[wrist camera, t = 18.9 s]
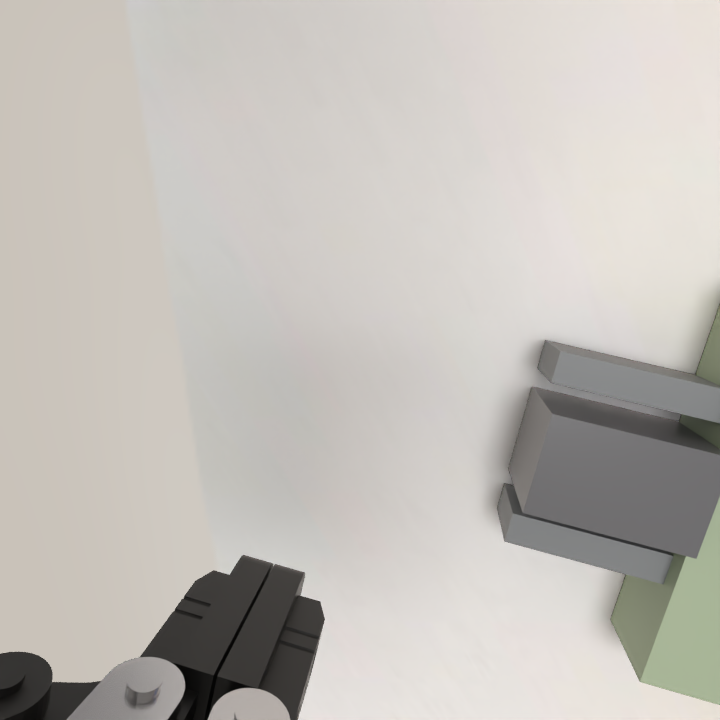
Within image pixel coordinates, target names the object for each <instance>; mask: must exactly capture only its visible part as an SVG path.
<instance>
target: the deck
mask: <svg viewBox="0 0 720 720" xmlns="http://www.w3.org/2000/svg"><path fill="white" fill-rule="evenodd" d="M538 369H539V370H540V371H541V372H542V373H543V375H544V376H545V377H546V378H547V379H548V380H549V381H550V382H551V383H553V384H558V385H562V386H566V387H570V388H574V389H579V390H583V391H587V392H591V393H595V394H599V395H604V396H608V397H612V398H616V399H620V400H625V401H629V402H633V403H637V404H641V405H645V406H650V407H654V408H658V409H662V410H666V411H671V412H675V413H679V414H682V415H681V418H680V421H679V422H680V423H681V424H683V425H684V426H686V427H687V428H689V429H690V430H692V431H693V432H695V433H696V434H698V435H700V436H701V437H703V438H704V439H706V440H707V441H709V442H710V443H712V444H713V445H715V446H716V447H718V448H719V449H720V305H719V308H718V311H717V314H716V317H715V320H714V323H713V326H712V328H711V331H710V334H709V337H708V340H707V343H706V346H705V349H704V352H703V354H702V357H701V360H700V363H699V366H698V369H697V372H696V375H694V374H690V373H685V372H681V371H677V370H672V369H668V368H664V367H659V366H655V365H651V364H646V363H642V362H638V361H633V360H629V359H625V358H620V357H616V356H612V355H607V354H603V353H599V352H594V351H590V350H586V349H582V348H577V347H573V346H569V345H564V344H560V343H556V342H551V341H547V340H545V344H544V347H543V351H542V354H541V358H540V361H539V365H538ZM497 510H498V514H499V519H500V523H501V528H502V532H503V537H504V541H505V542H508V543H512V544H516V545H519V546H523V547H527V548H530V549H534V550H538V551H542V552H545V553H549V554H553V555H556V556H560V557H564V558H567V559H571V560H575V561H578V562H582V563H586V564H590V565H593V566H597V567H601V568H604V569H608V570H612V571H615V572H619V573H623V574H626V576H625V579H624V582H623V585H622V588H621V591H620V594H619V597H618V599H617V602H616V605H615V608H614V611H613V614H612V617H611V622H612V624H613V626H614V628H615V630H616V632H617V634H618V636H619V639H620V641H621V643H622V645H623V647H624V649H625V651H626V653H627V656H628V658H629V660H630V662H631V664H632V666H633V668H634V670H635V672H636V675H637V677H638V679H639V681H640V682H642V683H646V684H649V685H653V686H656V687H659V688H663V689H666V690H670V691H673V692H677V693H680V694H684V695H687V696H691V697H694V698H697V699H701V700H704V701H708V702H711V703H715V704H718V705H720V497H719V500H718V502H717V505H716V508H715V511H714V513H713V516H712V519H711V521H710V524H709V527H708V529H707V532H706V535H705V537H704V540H703V543H702V545H701V548H700V551H699V553H698V556H697V559H695V558H691V557H687V556H683V555H680V554H676V553H672V552H668V551H664V550H661V549H657V548H653V547H649V546H646V545H642V544H638V543H634V542H630V541H627V540H623V539H619V538H615V537H612V536H608V535H604V534H600V533H596V532H593V531H589V530H585V529H581V528H578V527H574V526H570V525H566V524H562V523H559V522H555V521H551V520H547V519H544V518H540V517H536V516H532V515H528V514H525V513H523V512H522V509H521V506H520V503H519V500H518V497H517V494H516V491H515V488H514V486H513V485H509V484H505V483H504V486H503V490H502V493H501V497H500V500H499V504H498V507H497Z"/></svg>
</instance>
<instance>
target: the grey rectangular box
mask: <svg viewBox="0 0 720 720" xmlns="http://www.w3.org/2000/svg"><path fill="white" fill-rule="evenodd" d="M508 469H509V472H510V475H511V478H512V481H513V484H514V488H515V491H516V494H517V497H518V500H519V503H520V506H521V509H522V512H523V513H525V514H528V515H532V516H536V517H540V518H544V519H547V520H551V521H555V522H559V523H562V524H566V525H570V526H574V527H578V528H581V529H585V530H589V531H593V532H596V533H600V534H604V535H608V536H612V537H615V538H619V539H623V540H627V541H630V542H634V543H638V544H642V545H646V546H649V547H653V548H657V549H661V550H664V551H668V552H672V553H676V554H680V555H683V556H687V557H691V558H695V559H697V556H698V553H699V551H700V548H701V545H702V543H703V540H704V537H705V535H706V532H707V529H708V527H709V524H710V521H711V519H712V516H713V513H714V511H715V508H716V505H717V502H718V500H719V497H720V449H719V448H718V447H716V446H715V445H713V444H712V443H710V442H709V441H707V440H706V439H704V438H703V437H701V436H700V435H698V434H696V433H695V432H693V431H692V430H690V429H689V428H687V427H686V426H684V425H683V424H681V423H680V422H678V421H674V420H670V419H666V418H662V417H657V416H653V415H649V414H645V413H641V412H637V411H633V410H628V409H624V408H620V407H616V406H612V405H608V404H603V403H599V402H595V401H591V400H587V399H583V398H579V397H574V396H570V395H566V394H562V393H558V392H554V391H549V390H545V389H541V388H537V387H533V386H532V388H531V391H530V395H529V398H528V402H527V405H526V409H525V412H524V416H523V419H522V423H521V426H520V430H519V433H518V437H517V440H516V444H515V447H514V450H513V454H512V457H511V461H510V464H509V468H508Z"/></svg>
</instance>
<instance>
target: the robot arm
mask: <svg viewBox="0 0 720 720" xmlns="http://www.w3.org/2000/svg"><path fill="white" fill-rule="evenodd" d="M304 578H305V573H304V572H301V571H297V570H294V569H290V568H287V567H283V566H280V565H277V564H275V565H274V566H273V563H269V562H266V561H262V560H259V559H255V558H252V557H249V556H245V555H243V556H242V557H241V558H240V560H239V561H238V563H237V564H236V566H235V567H234V569H233V571H232V572H231V574H230V575H227V574H224V573H221V572H217V571H212V572H210V573H209V574H207V575H205V576H203V577H202V578H200V579H198V580H197V581H195V583H194V584H193V585H192V587H191V588H190V589H189V591H188V592H187V593H186V595H185V596H184V599H182V600H181V602H180V603H179V604H178V606H177V607H176V609H175V611H174V612H173V613H172V614H171V615H170V617H169V618H168V620H167V621H166V622H165V624H164V625H163V626H162V628H161V629H160V630H159V632H158V633H157V634H156V636H155V637H154V639H153V640H152V641H151V643H150V644H149V645H148V647H147V648H146V650H145V651H144V652H143V654H142V655H141V656H140V657H139V658H134V659H131V660H128V661H125V662H123V663H121V664H119V665H118V666H116V667H115V668H114V669H112V670H111V671H110V672H109V673H108V674H107V675H106V676H105V678H104V679H103V680H102V681H99V682H92V683H66V682H65V683H63V682H52V670H51V667H50V665H49V664H48V662H46V661H45V660H44V659H43V658H41V657H40V656H38V655H35V654H32V653H26V652H8V653H2V654H0V720H298V717H299V713H300V710H301V707H302V703H303V700H304V696H305V693H306V689H307V686H308V683H309V679H310V676H311V672H312V668H313V664H314V660H315V656H316V652H317V648H318V644H319V640H320V636H321V632H322V628H323V624H324V620H325V618H324V615H323V611H322V607H321V603H320V602H319V601H316V600H313V599H309V598H306V597H302V596H300V595H301V591H302V586H303V582H304Z"/></svg>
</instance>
